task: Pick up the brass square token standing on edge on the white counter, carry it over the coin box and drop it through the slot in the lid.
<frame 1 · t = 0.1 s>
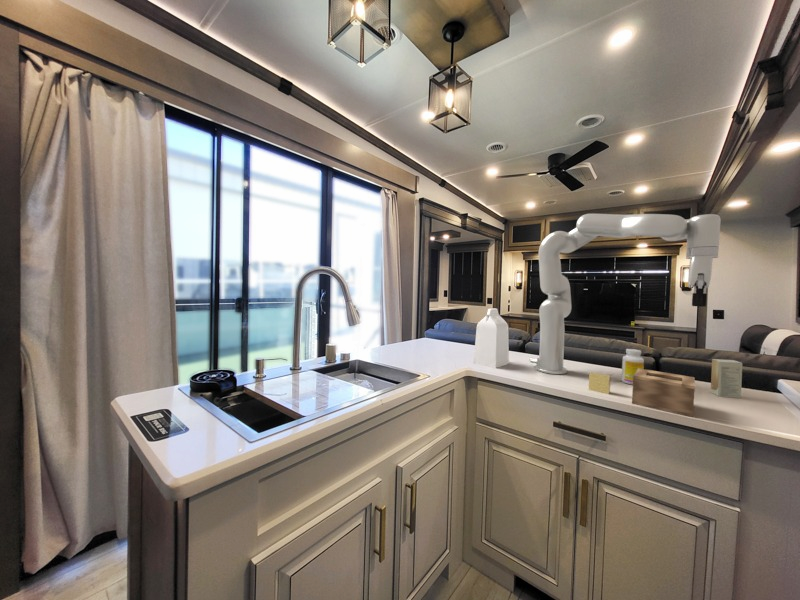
hand: (698, 305, 101), 31 cm above the worktop, fingers open, 9 cm apart
milk: (491, 363, 144), on the worktop
token: (599, 391, 108), on the worktop
coin box: (662, 404, 96), on the worktop
supplement bottle: (631, 383, 118), on the worktop
skincare box: (724, 395, 105), on the worktop
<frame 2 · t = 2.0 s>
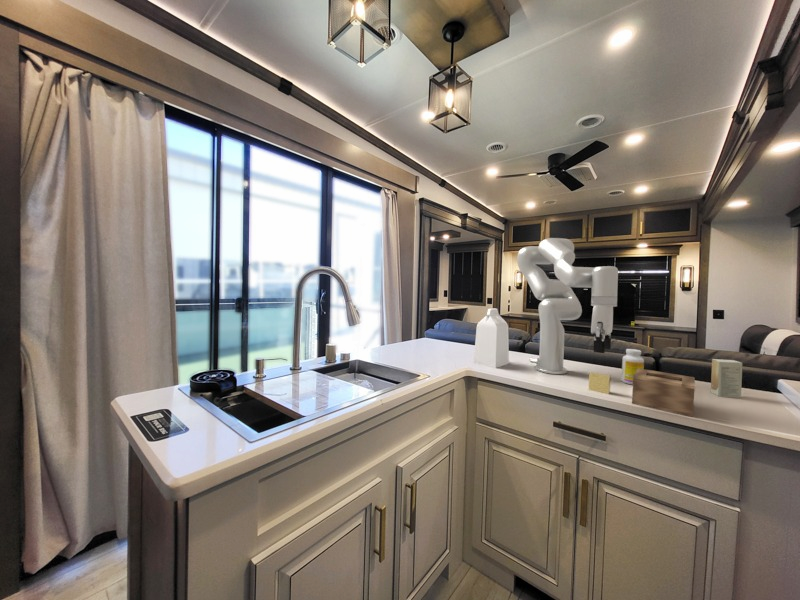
hand: (602, 350, 107), 15 cm above the worktop, fingers open, 9 cm apart
nothing on the worktop moved.
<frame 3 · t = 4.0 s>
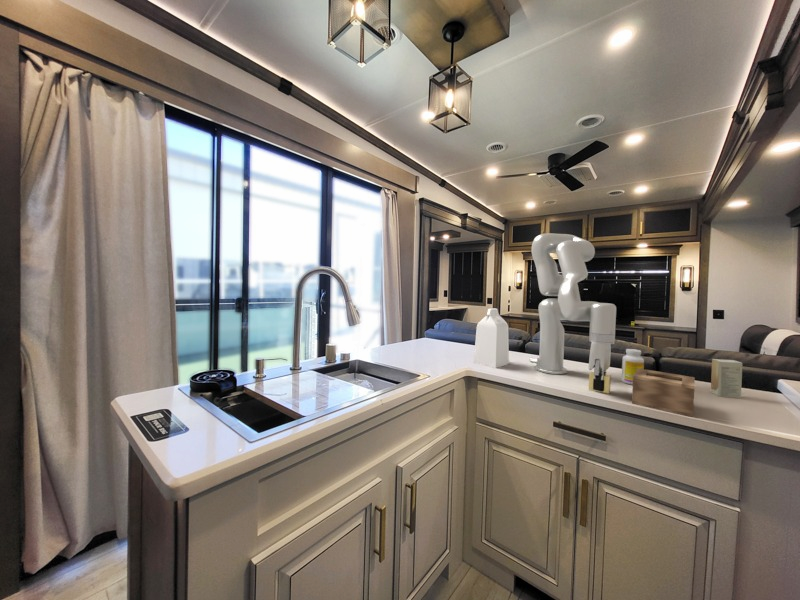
hand: (599, 389, 108), 1 cm above the worktop, fingers closed on token, 2 cm apart
token: (599, 390, 108), on the worktop, touching gripper
everything else where it was.
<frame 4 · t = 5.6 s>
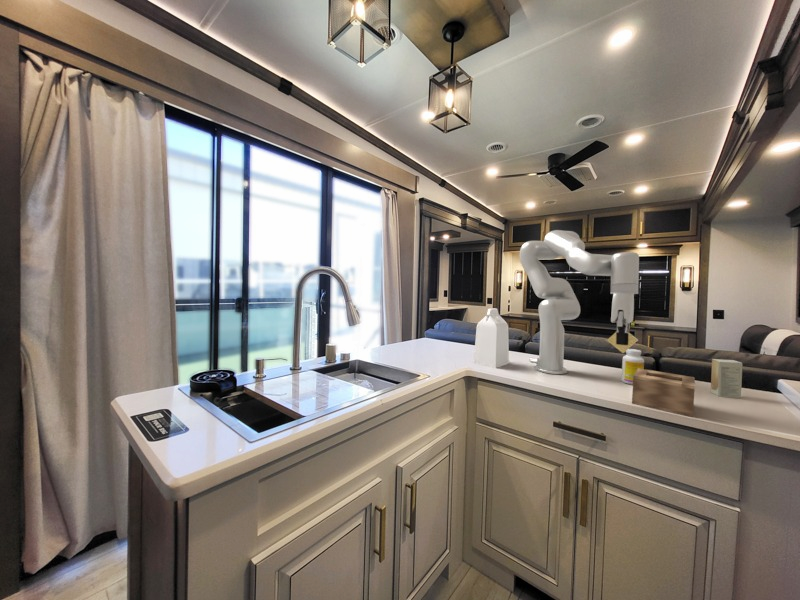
hand: (622, 343, 103), 18 cm above the worktop, fingers closed on token
token: (615, 346, 104), point 17 cm above the worktop, tilted 38°, touching gripper
everything else where it was.
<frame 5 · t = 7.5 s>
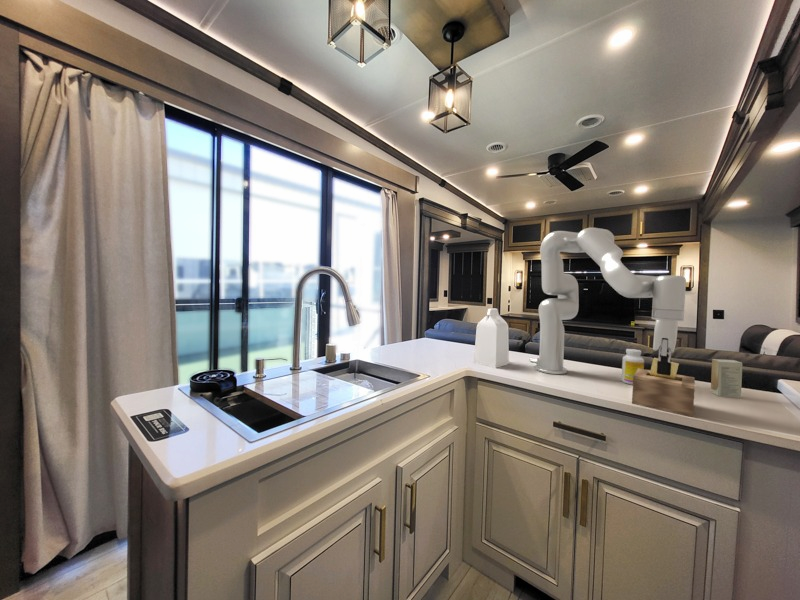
hand: (663, 372, 96), 10 cm above the worktop, fingers closed
token: (651, 367, 98), point 11 cm above the worktop, tilted 98°
everything else where it was.
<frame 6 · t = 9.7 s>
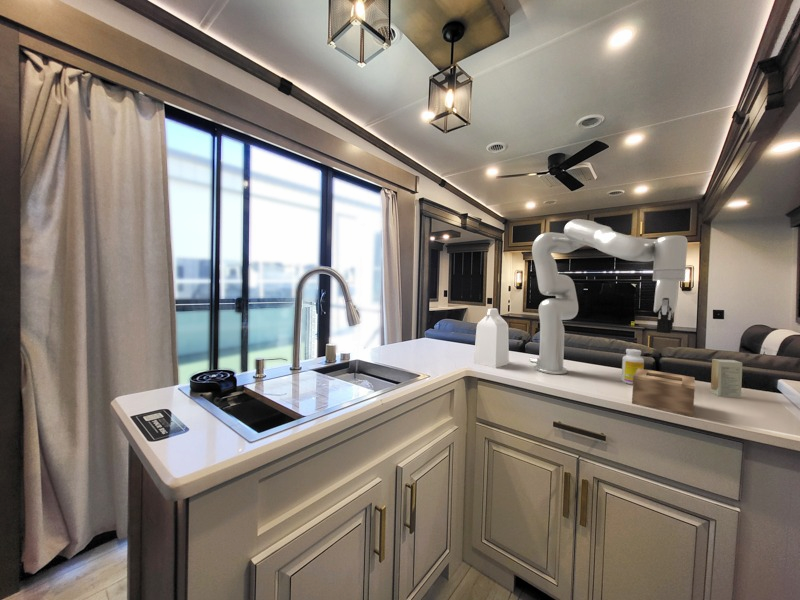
hand: (664, 330, 96), 23 cm above the worktop, fingers open, 9 cm apart
token: (648, 389, 99), point 4 cm above the worktop, tilted 90°, touching coin box
everything else where it was.
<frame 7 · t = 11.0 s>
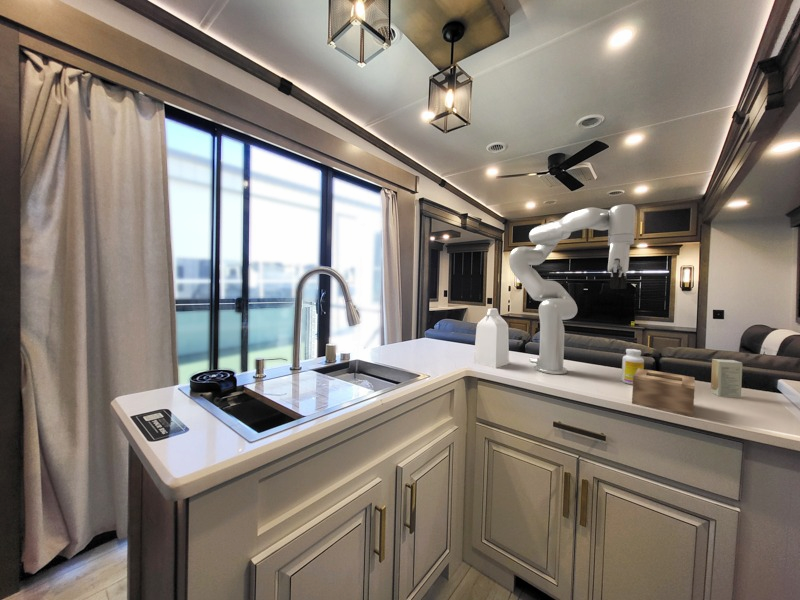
hand: (618, 288, 109), 36 cm above the worktop, fingers open, 9 cm apart
nothing on the worktop moved.
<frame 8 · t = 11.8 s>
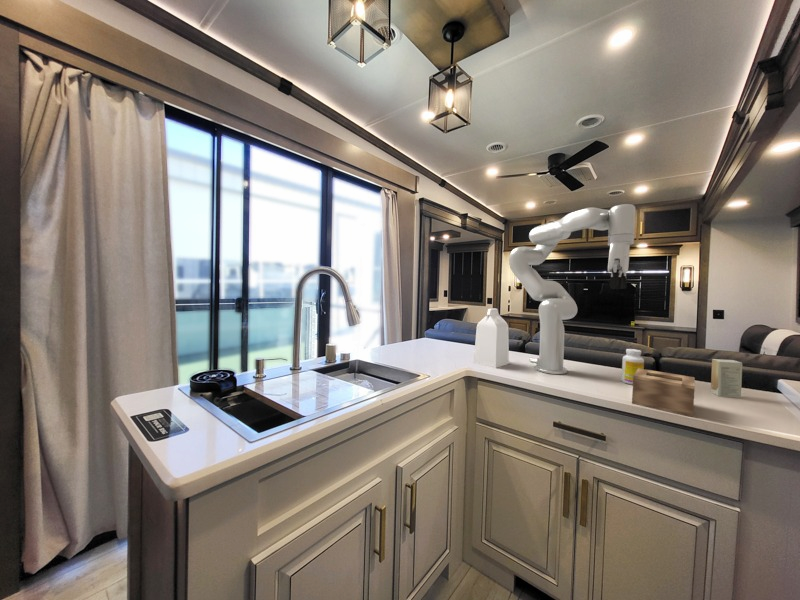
hand: (618, 288, 109), 36 cm above the worktop, fingers open, 9 cm apart
nothing on the worktop moved.
at the end: token inside the target area on the coin box (3.6 cm from its centre), point 3.8 cm above the coin box's base; the gripper is holding nothing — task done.
